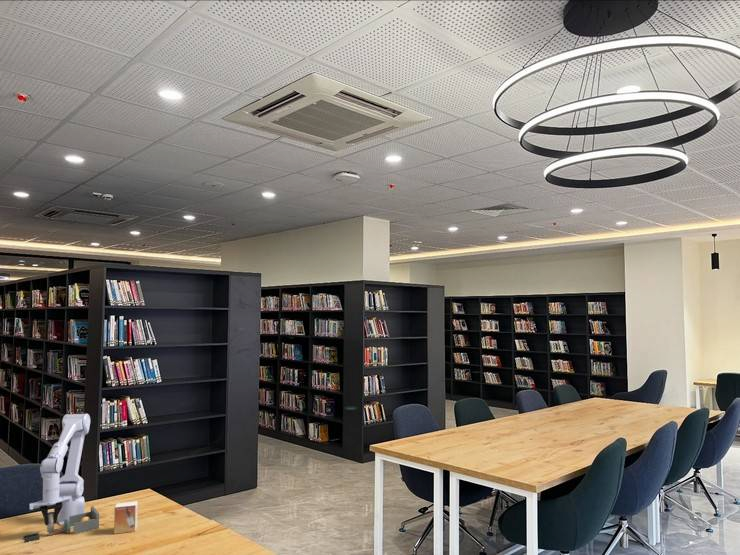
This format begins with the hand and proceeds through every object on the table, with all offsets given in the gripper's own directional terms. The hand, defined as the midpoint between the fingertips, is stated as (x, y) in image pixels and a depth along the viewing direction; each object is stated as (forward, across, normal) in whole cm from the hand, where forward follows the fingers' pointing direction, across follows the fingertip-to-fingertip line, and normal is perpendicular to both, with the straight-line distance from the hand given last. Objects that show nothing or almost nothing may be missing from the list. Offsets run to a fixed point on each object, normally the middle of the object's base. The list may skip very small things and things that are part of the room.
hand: (50, 523), depth 218 cm
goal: (+4, +12, 0) cm, 13 cm away
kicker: (+4, +4, 0) cm, 6 cm away
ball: (+2, +12, 0) cm, 13 cm away
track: (+4, -6, 0) cm, 8 cm away
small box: (+5, +24, -15) cm, 29 cm away
